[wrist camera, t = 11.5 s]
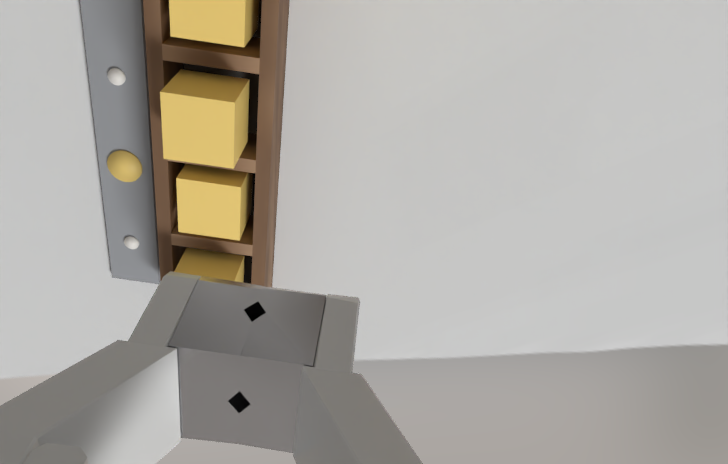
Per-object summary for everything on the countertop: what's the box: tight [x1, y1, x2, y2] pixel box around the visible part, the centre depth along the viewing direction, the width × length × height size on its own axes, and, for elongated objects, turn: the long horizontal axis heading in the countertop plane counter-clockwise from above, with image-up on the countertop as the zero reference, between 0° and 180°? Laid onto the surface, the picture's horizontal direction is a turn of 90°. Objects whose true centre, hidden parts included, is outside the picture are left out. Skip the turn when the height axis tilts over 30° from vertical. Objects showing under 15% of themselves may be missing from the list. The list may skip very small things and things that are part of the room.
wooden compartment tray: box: [143, 0, 289, 287], centre depth 44 cm, size 8×29×4 cm, turn 173°
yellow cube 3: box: [176, 163, 253, 241], centre depth 46 cm, size 4×4×4 cm
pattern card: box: [80, 0, 161, 284], centre depth 46 cm, size 4×29×1 cm, turn 173°
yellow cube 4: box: [174, 248, 244, 283], centre depth 48 cm, size 4×4×4 cm
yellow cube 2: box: [160, 69, 249, 169], centre depth 40 cm, size 4×4×4 cm
